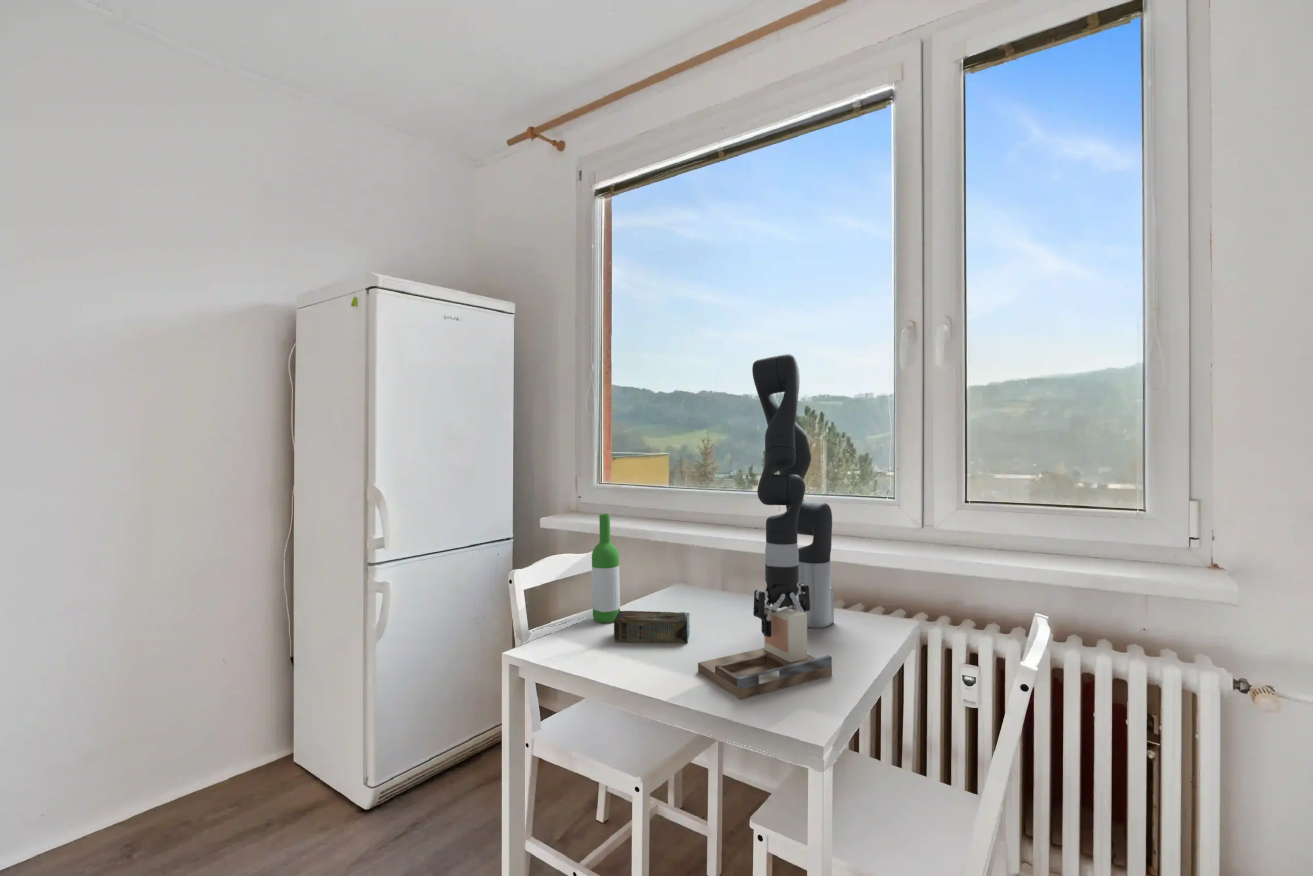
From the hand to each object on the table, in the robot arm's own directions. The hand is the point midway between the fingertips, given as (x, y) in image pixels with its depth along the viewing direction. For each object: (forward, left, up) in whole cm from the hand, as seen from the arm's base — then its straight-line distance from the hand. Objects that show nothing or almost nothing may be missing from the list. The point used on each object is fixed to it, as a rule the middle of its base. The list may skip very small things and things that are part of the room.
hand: (782, 633), depth 138 cm
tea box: (-1, 0, -5) cm, 5 cm away
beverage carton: (+18, -30, -7) cm, 36 cm away
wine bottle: (+22, -50, -7) cm, 56 cm away
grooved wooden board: (+7, +3, -7) cm, 10 cm away
